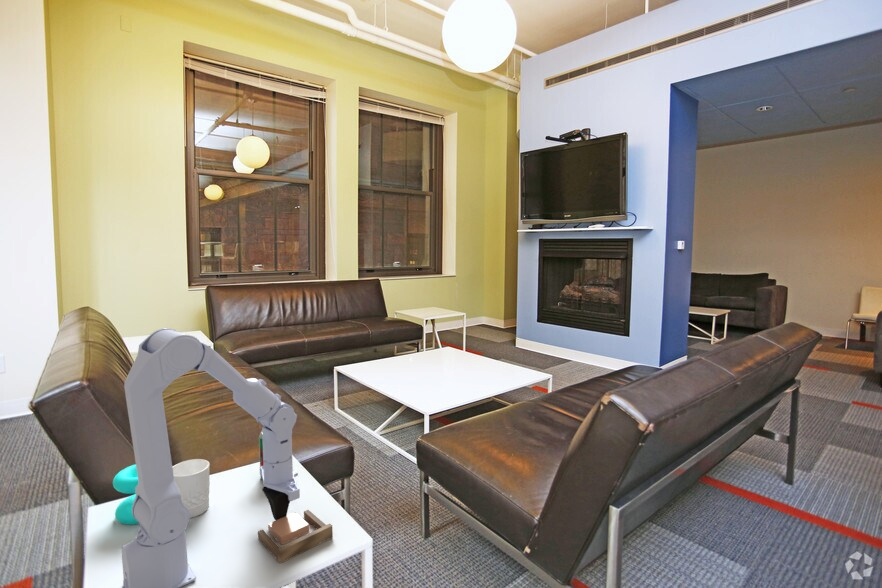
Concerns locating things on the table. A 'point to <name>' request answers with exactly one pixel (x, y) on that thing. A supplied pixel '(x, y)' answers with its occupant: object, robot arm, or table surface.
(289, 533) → the peach block
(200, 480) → the white cup
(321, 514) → the table surface
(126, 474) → the donuts
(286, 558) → the wooden u-shaped frame
